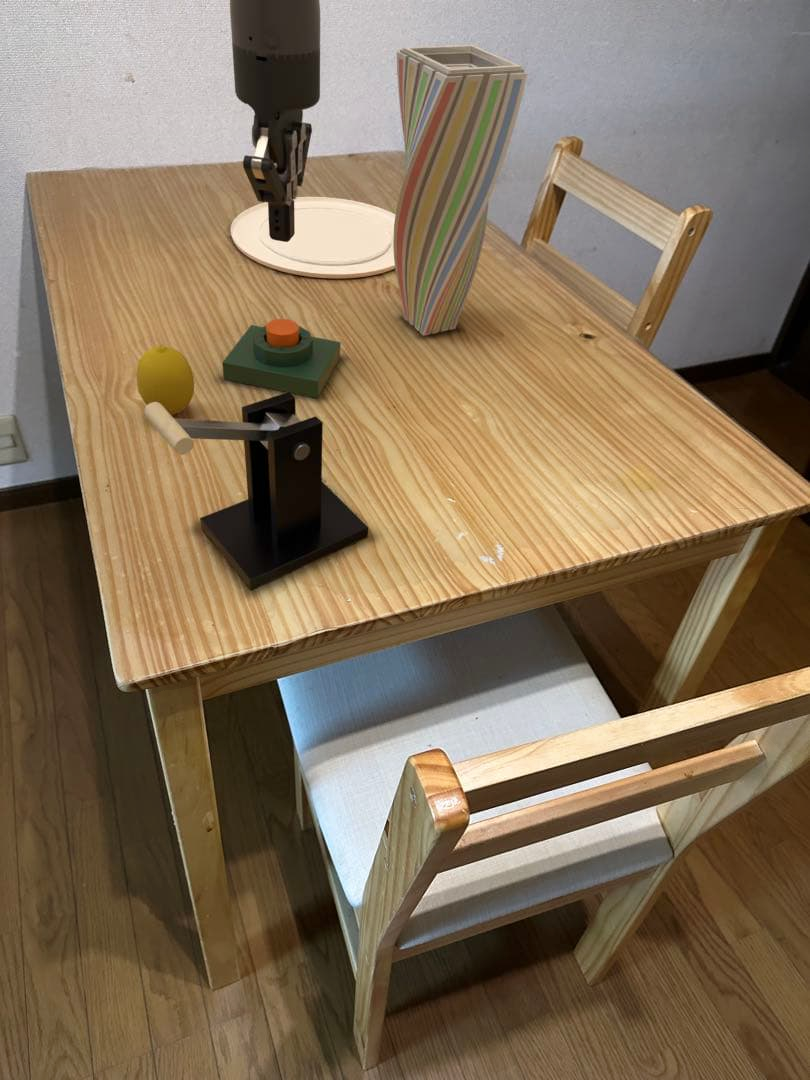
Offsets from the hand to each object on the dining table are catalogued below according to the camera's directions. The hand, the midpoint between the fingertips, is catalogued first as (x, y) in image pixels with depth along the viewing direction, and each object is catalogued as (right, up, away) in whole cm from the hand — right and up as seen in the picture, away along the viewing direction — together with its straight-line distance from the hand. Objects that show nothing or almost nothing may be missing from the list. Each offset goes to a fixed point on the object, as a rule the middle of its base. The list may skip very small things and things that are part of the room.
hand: (282, 238), depth 78 cm
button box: (-2, -11, +11) cm, 15 cm away
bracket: (+2, -30, -9) cm, 31 cm away
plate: (0, +15, +38) cm, 41 cm away
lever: (-1, -23, -19) cm, 30 cm away
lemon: (-12, -18, +3) cm, 22 cm away
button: (-1, -8, +8) cm, 12 cm away
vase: (+16, -3, +22) cm, 27 cm away
